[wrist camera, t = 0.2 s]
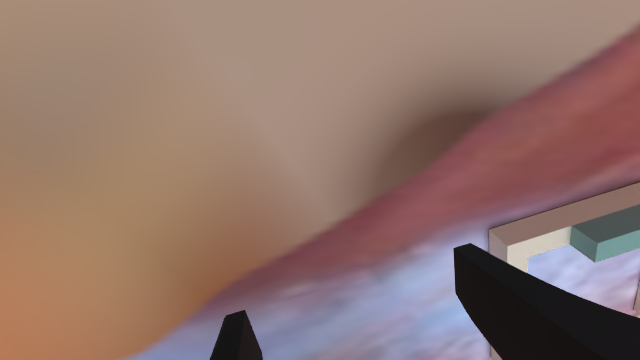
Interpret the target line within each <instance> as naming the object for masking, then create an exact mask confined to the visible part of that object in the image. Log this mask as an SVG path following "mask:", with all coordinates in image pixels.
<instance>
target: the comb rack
mask: <svg viewBox="0 0 640 360" xmlns="http://www.w3.org/2000/svg"><path fill="white" fill-rule="evenodd" d="M569 244H570V245H571V246H573V247H574V248H576V249H577V250H578V251H580V252H581V253H582V254H584V255H585V256H587V257H588V258H589V259H591V260H592V261H594V262H598V261H601V260H604V259H607V258H610V257H613V256H617V255H620V254H623V253H626V252H629V251H632V250H635V249H638V248H640V182H639V183H636V184H632V185H629V186H626V187H623V188H620V189H616V190H613V191H610V192H607V193H604V194H600V195H597V196H594V197H591V198H588V199H585V200H581V201H578V202H575V203H572V204H569V205H565V206H562V207H559V208H556V209H553V210H550V211H546V212H543V213H540V214H537V215H534V216H530V217H527V218H524V219H521V220H518V221H514V222H511V223H508V224H505V225H502V226H499V227H495V228H492V229H489V253H490V254H492V255H494V256H495V257H497V258H499V259H501V260H503V261H505V262H507V263H508V264H510V265H512V266H514V267H516V268H518V269H520V270H522V271H524V272H526V273H528V257H532V256H535V255H538V254H541V253H544V252H547V251H550V250H553V249H556V248H559V247H562V246H566V245H569ZM633 310H635V311H636V312H637V313H638V314H640V283H639V287H638V292H637V296H636V300H635V305H634V309H633ZM491 359H492V360H502V359H501V358H500V356H499V355H498V354H497V352H496V351H495V350H494V349H493V347H492V346H491Z"/></svg>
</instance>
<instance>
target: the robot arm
mask: <svg viewBox="0 0 640 360" xmlns="http://www.w3.org/2000/svg"><path fill="white" fill-rule="evenodd" d="M454 268H455V291H456V295H457V296H458V298H459V300H460V302H461V303H462V305H463V307H464V308H465V310H466V312H467V313H468V315H469V317H470V318H471V320H472V321H473V322H474V324H475V325H476V326H477V328H478V329H479V330H480V332H481V333H482V334H483V336H484V337H485V338H486V340H487V341H488V342H489V343H490V345H491V346H492V347H493V349H494V350H495V351H496V352H497V354H498V355H499V356H500V358H501V359H502V360H640V318H637V317H634V316H631V315H628V314H625V313H622V312H619V311H616V310H613V309H610V308H607V307H604V306H602V305H599V304H596V303H594V302H591V301H589V300H586V299H583V298H581V297H578V296H576V295H573V294H571V293H569V292H566V291H564V290H562V289H560V288H557V287H555V286H553V285H551V284H549V283H546V282H544V281H542V280H540V279H538V278H536V277H534V276H532V275H530V274H528V273H526V272H524V271H522V270H520V269H518V268H516V267H514V266H512V265H510V264H508V263H507V262H505V261H503V260H501V259H499V258H497V257H495V256H494V255H492V254H490V253H488V252H486V251H484V250H483V249H481V248H479V247H477V246H475V245H473V244H471V243H469V244H466V245H462V246H459V247H456V248H454ZM210 360H263V358H262V352H261V349H260V347H259V344H258V342H257V339H256V337H255V334H254V331H253V329H252V326H251V324H250V321H249V319H248V316H247V314H246V311H245V310H243V311H240V312H236V313H233V314H229V315H226V317H225V318H224V321H223V324H222V327H221V330H220V333H219V336H218V339H217V341H216V344H215V347H214V349H213V352H212V355H211V357H210Z"/></svg>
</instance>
